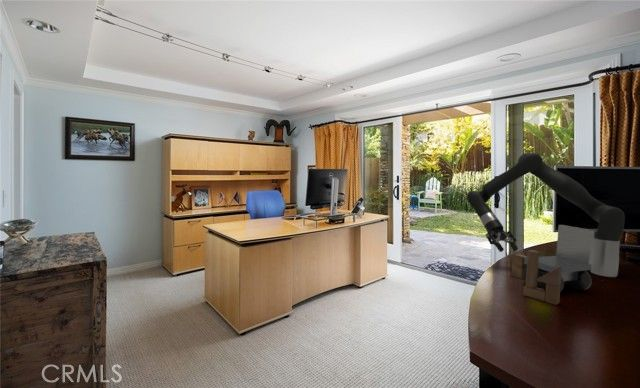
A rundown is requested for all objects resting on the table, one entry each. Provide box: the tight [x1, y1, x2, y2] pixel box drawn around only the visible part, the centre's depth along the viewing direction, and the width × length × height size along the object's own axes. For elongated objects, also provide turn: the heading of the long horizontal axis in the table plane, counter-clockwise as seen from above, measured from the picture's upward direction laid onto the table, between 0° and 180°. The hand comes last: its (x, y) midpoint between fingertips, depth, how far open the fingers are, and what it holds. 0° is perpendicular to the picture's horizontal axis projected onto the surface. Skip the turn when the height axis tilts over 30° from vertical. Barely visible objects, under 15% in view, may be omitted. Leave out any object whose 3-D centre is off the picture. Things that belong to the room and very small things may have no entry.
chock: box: [511, 253, 528, 280], centre depth 139 cm, size 4×5×10 cm
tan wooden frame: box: [522, 249, 562, 306], centre depth 114 cm, size 4×11×18 cm, turn 36°
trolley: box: [523, 224, 595, 293], centre depth 126 cm, size 20×16×25 cm
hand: (509, 250), depth 145 cm, fingers open, 8 cm apart
